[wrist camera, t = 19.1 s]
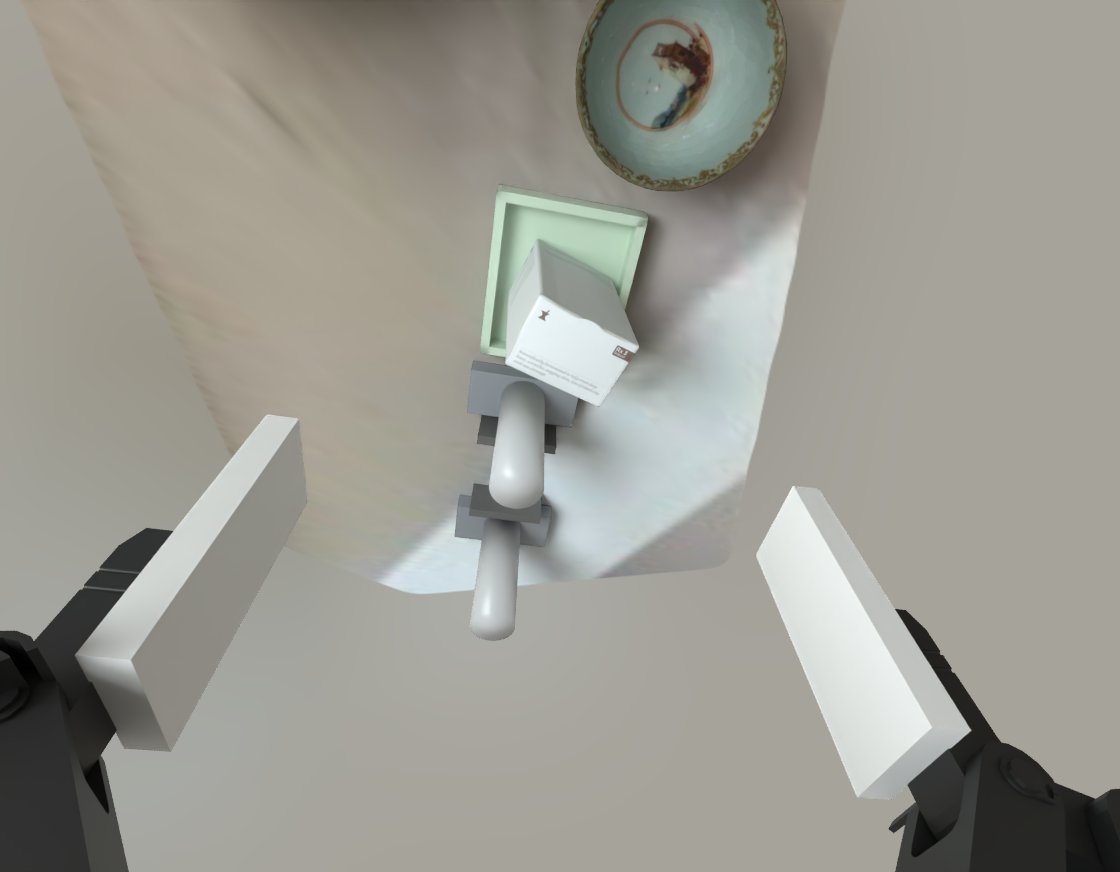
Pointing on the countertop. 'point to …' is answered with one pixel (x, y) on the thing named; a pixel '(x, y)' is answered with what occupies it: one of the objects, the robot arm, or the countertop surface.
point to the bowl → (679, 86)
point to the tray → (555, 246)
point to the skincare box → (567, 325)
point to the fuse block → (509, 484)
